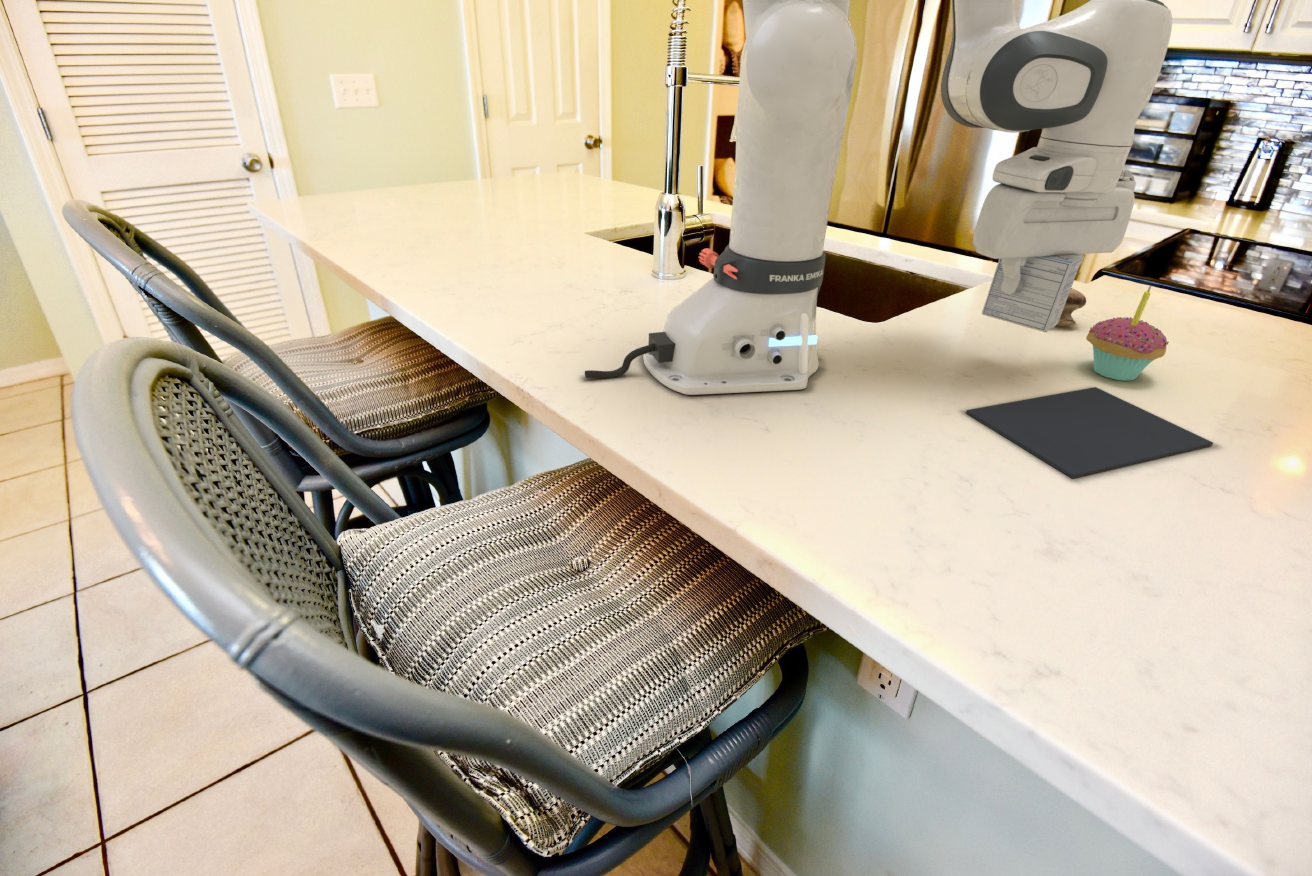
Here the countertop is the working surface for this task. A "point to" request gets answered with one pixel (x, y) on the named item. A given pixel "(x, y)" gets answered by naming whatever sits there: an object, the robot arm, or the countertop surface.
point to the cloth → (1087, 431)
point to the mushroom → (1071, 307)
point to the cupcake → (1126, 345)
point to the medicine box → (1034, 292)
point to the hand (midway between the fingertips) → (1031, 290)
